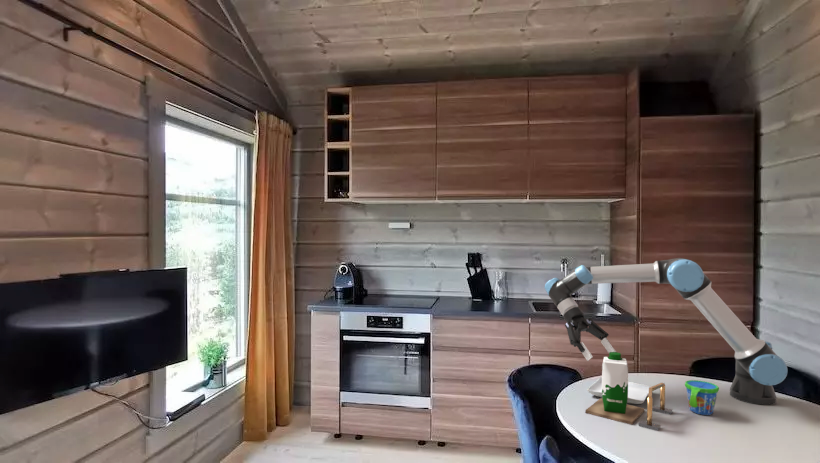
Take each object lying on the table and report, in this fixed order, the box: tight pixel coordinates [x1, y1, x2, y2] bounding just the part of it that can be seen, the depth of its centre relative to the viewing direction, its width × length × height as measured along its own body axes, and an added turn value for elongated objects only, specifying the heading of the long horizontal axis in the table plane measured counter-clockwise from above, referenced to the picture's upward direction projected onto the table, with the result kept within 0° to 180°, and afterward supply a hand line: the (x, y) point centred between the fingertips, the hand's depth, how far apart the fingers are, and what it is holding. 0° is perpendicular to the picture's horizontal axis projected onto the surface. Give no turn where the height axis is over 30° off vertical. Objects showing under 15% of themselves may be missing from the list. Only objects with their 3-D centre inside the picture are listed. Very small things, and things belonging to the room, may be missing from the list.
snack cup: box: [684, 379, 720, 416], centre depth 181 cm, size 16×10×10 cm
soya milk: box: [601, 351, 629, 414], centre depth 180 cm, size 9×9×20 cm
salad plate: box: [586, 376, 653, 405], centre depth 198 cm, size 21×21×3 cm
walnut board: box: [584, 397, 646, 426], centre depth 180 cm, size 16×16×1 cm
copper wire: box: [638, 382, 673, 432], centre depth 174 cm, size 6×21×10 cm, turn 140°
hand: (601, 356), depth 190 cm, fingers open, 13 cm apart
